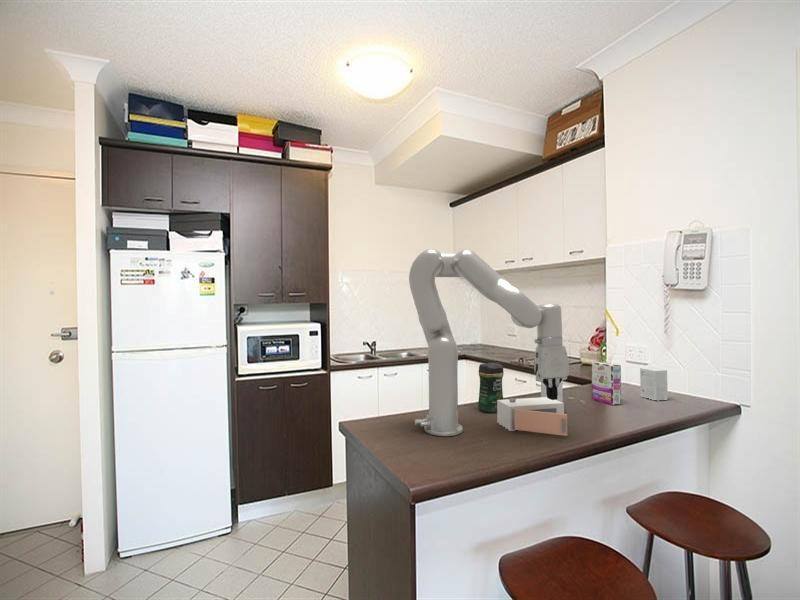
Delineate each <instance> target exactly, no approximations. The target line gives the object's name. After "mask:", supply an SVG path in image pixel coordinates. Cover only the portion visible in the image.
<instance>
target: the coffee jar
mask: <svg viewBox="0 0 800 600" xmlns="http://www.w3.org/2000/svg"><path fill="white" fill-rule="evenodd" d="M504 374H505V373H504V366H503V364H502V363H498V362H488V363H481V364H479V365H478V376H479V393H478V404H477V405H478V410H479V411H480V412H484V413H497V400H504V393H503V392H504V391H503V377H504Z"/></svg>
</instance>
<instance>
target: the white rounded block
mask: <svg viewBox="0 0 800 600" xmlns="http://www.w3.org/2000/svg"><path fill="white" fill-rule="evenodd" d="M563 385H564V384H563V381H561V383H560V384H559V387H557V390H558V396H557V401H560V402H562V403H564V402H563V401H564V400H563V396H564V395H563ZM540 397H547V394H546V386H545V385H544V384H543V383H542V382H540Z"/></svg>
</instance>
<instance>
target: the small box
mask: <svg viewBox="0 0 800 600" xmlns="http://www.w3.org/2000/svg"><path fill="white" fill-rule="evenodd" d="M639 368H640V369H639V371H640V372H639V376H640V377H639V378H640V381H639V383H640V389H639V390H640V397H641V396H642V397H646V398H649V399H648V400H650V399H652V400H651V401H653V400H666V401H668V400H669V399H668V397H669V395H668V370H667V369H666V370H665V369H660V368H656V367H639ZM642 397H641V398H642ZM646 398H645V399H646Z"/></svg>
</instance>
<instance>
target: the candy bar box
mask: <svg viewBox="0 0 800 600" xmlns="http://www.w3.org/2000/svg"><path fill="white" fill-rule="evenodd" d="M621 367H622V365H620V364H615V363H611V362H610V363H608V362H602V361H592V362H591V400H593V399H594V400H593V401H596V400H597V401H596V402H599V401H600V402H599V403H603V404H606V403H607V404H606V405H610V406H618V405H620V404H621V405H622V379H621V378H622V376H621V375H622V373H621V372H622V371H621Z"/></svg>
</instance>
